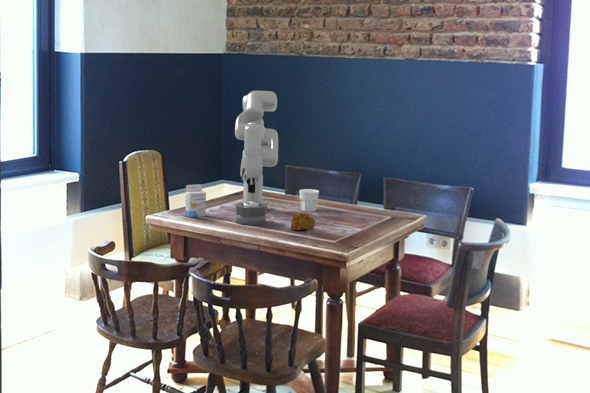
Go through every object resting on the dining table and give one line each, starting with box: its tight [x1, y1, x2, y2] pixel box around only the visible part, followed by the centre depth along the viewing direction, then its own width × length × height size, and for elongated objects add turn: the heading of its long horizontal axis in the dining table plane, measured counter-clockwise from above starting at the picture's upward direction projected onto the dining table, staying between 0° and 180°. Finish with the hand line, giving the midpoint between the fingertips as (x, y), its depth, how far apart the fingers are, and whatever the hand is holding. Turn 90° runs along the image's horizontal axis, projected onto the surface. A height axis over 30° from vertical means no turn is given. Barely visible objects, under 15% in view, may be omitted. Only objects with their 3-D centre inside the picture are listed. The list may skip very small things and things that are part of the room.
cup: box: [299, 188, 320, 212], centre depth 336 cm, size 10×10×10 cm
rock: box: [290, 212, 316, 231], centre depth 294 cm, size 11×8×10 cm
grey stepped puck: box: [234, 201, 268, 226], centre depth 304 cm, size 14×14×8 cm
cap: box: [244, 200, 259, 207], centre depth 303 cm, size 7×7×6 cm
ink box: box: [184, 183, 207, 218], centre depth 311 cm, size 8×5×15 cm, turn 123°
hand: (251, 192), depth 302 cm, fingers closed
